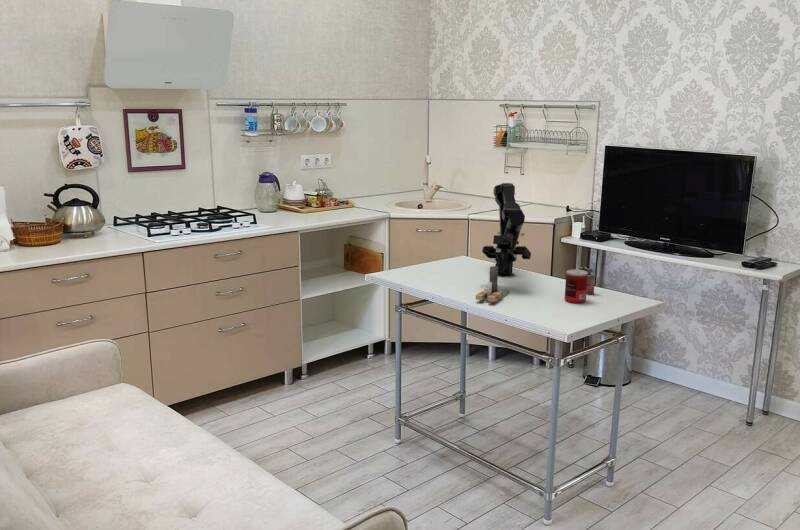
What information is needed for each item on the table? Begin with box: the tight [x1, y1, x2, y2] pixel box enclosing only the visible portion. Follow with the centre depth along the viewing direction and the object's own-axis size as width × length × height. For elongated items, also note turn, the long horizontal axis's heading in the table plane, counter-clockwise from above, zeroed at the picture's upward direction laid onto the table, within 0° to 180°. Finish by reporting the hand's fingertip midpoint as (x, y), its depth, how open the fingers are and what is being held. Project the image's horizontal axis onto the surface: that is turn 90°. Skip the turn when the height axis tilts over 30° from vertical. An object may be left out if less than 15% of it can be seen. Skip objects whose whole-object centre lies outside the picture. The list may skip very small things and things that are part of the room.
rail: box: [479, 282, 510, 304], centre depth 263 cm, size 16×6×7 cm, turn 153°
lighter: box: [578, 266, 597, 296], centre depth 270 cm, size 8×3×10 cm, turn 47°
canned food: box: [564, 269, 589, 305], centre depth 259 cm, size 8×8×11 cm
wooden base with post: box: [475, 265, 503, 302], centre depth 258 cm, size 10×7×11 cm
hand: (500, 271), depth 269 cm, fingers closed
